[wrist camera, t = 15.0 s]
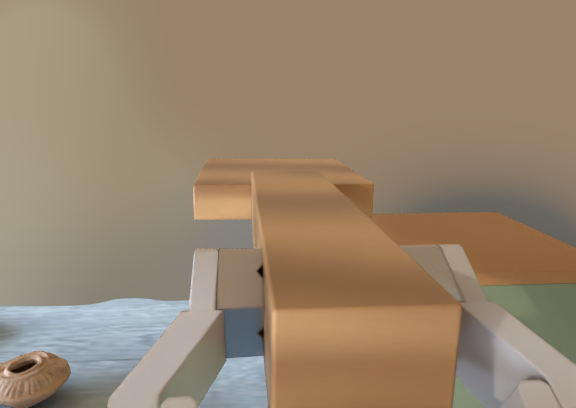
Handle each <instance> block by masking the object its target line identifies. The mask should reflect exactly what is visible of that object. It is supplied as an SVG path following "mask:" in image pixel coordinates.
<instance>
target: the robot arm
mask: <svg viewBox="0 0 576 408" xmlns="http://www.w3.org/2000/svg"><path fill="white" fill-rule="evenodd" d="M399 246H400V247H401V248H402V249H403V250H404V251H405V252H406V253H407V254H408V255H409V256H410V257H411V258H413V259H414V260H415V261H416V262H417V263H418V264H419V265H420V266H421V267H422V268H423V269H424V270H425V271H426V272H428V273H429V274H430V275H431V276H432V277H433V278H434V279H435V280H436V281H437V282H438V283H439V284H440V285H441V286H443V287H444V288H445V289H446V290H447V291H448V292H449V293H450V294H451V295H452V296H453V297H454V298H455V299H456V300H457V301H459V302H460V303H461V306H462V318H461V328H460V338H459V348H458V358H457V368H456V377H457V378H458V379H459V380H460V381H461V382H462V383H463V384H464V385H465V387H466V388H467V389H468V390H469V391H470V392H471V393H472V394H473V395H474V396H475V398H476V399H477V400H478V401H479V402H480V403H481V404H482V405H483V406H484V408H576V364H575V363H573V362H572V361H571V360H569V359H568V358H567V357H566V356H564V355H563V354H562V353H560V352H559V351H558V350H557V349H555V348H554V347H553V346H551V345H550V344H549V343H548V342H546V341H545V340H544V339H542V338H541V337H540V336H539V335H537V334H536V333H535V332H533V331H532V330H531V329H530V328H528V327H527V326H526V325H524V324H523V323H522V322H520V321H519V320H518V319H517V318H515V317H514V316H513V315H511V314H510V313H509V312H508V311H506V310H505V309H504V308H502V307H501V306H500V305H499V304H497V303H496V302H492V301H488V300H487V298H486V295H485V293H484V291H483V289H482V287H481V285H480V283H479V281H478V279H477V277H476V274H475V272H474V270H473V268H472V266H471V264H470V262H469V260H468V258H467V256H466V254H465V251H464V249H463V247H462V246H460V245H459V244H442V245H435V244H432V245H399ZM264 323H265V292H264V278H263V253H262V249H226V248H223V249H222V248H219V249H196V250H195V253H194V259H193V271H192V282H191V292H190V303H189V311H182V312H181V313H180V314H179V315H178V316H177V318H176V319H175V320H174V321H173V322H172V323H171V325H170V326H169V327H168V328H167V329H166V331H165V332H164V333H163V334H162V335H161V337H160V338H159V339H158V340H157V341H156V342H155V344H154V345H153V346H152V347H151V348H150V350H149V351H148V352H147V353H146V354H145V356H144V357H143V358H142V359H141V360H140V361H139V363H138V364H137V365H136V366H135V367H134V369H133V370H132V371H131V372H130V373H129V375H128V376H127V377H126V378H125V379H124V380H123V382H122V383H121V384H120V385H119V386H118V388H117V389H116V390H115V391H114V392H113V394H112V395H111V396H110V397H109V400H108V405H107V408H198V406H199V405H200V403H201V401H202V400H203V398H204V397H205V395H206V393H207V392H208V390H209V388H210V387H211V385H212V383H213V382H214V380H215V378H216V377H217V375H218V373H219V372H220V370H221V368H222V367H223V365H224V364H225V362H226V358H236V357H251V356H264V354H263V344H264V332H263V328H264Z"/></svg>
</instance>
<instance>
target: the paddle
mask: <svg viewBox="0 0 576 408" xmlns="http://www.w3.org/2000/svg"><path fill="white" fill-rule="evenodd" d="M373 190H374V184H373V183H371V182H370V181H368V180H367V179H365V178H364V177H362V176H361V175H359V174H358V173H356V172H354V171H353V170H351V169H350V168H348V167H347V166H345V165H344V164H342V163H341V162H339V161H337V160H336V159H207V161H206V163H205V164H204V166H203V168H202V170H201V172H200V174H199V176H198V178H197V179H196V182H195V183H194V185H193V194H194V219H195V220H213V219H214V220H220V219H251V220H252V231H253V242H254V249H262V253H263V278H264V292H265V323H264V328H263V332H264V344H263V354H264V365H265V376H266V387H267V398H268V408H453V398H454V388H455V378H456V368H457V358H458V348H459V338H460V328H461V318H462V306H461V303H460V302H459V301H457V300H456V299H455V298H454V297H453V296H452V295H451V294H450V293H449V292H448V291H447V290H446V289H445V288H444V287H443V286H441V285H440V284H439V283H438V282H437V281H436V280H435V279H434V278H433V277H432V276H431V275H430V274H429V273H428V272H426V271H425V270H424V269H423V268H422V267H421V266H420V265H419V264H418V263H417V262H416V261H415V260H414V259H413V258H411V257H410V256H409V255H408V254H407V253H406V252H405V251H404V250H403V249H402V248H401V247H400V246H399V245H398V244H397V243H395V242H394V241H393V240H392V239H391V238H390V237H389V236H388V235H387V234H386V233H385V232H384V231H383V230H382V229H380V228H379V227H378V226H377V225H376V224H375V223H374V222H373V221H372V220H371V219H370V218H372V210H373V192H374V191H373Z"/></svg>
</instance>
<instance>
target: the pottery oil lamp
mask: <svg viewBox="0 0 576 408" xmlns="http://www.w3.org/2000/svg"><path fill="white" fill-rule="evenodd" d="M70 374H71V371H70V367H69V364H68V362H67V361H66V360H64V359H62V358H59V357H58V356H56V355H54V354H51V353H46V352H44V351H34V352H30V353H28V354H25V355H21V356H19V357H17V358H15V359H13V360H10V361H8V362H4V363H0V404H2V405H6V406H10V407H13V408H27V407H31V406H33V405H35V404H37V403H39V402H41V401H43V400H45V399H47V398H48V397H50V396H51V395H53V394H54V393H55V392H56V391H57V390H58V389H59V388H61V386H62V385H63V384H64V383H65V382H66V381H67V379H68V378H69V376H70Z"/></svg>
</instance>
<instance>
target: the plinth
mask: <svg viewBox="0 0 576 408" xmlns="http://www.w3.org/2000/svg"><path fill="white" fill-rule="evenodd" d="M370 219H371V220H372V221H373V222H374V223H375V224H376V225H377V226H378V227H379V228H380V229H382V230H383V231H384V232H385V233H386V234H387V235H388V236H389V237H390V238H391V239H392V240H393V241H394V242H395V243H397V244H398V245H432V244H435V245H442V244H459V245H460V246H462V247H463V249H464V251H465V254H466V256H467V258H468V260H469V262H470V264H471V266H472V268H473V270H474V272H475V274H476V277H477V279H478V281H479V283H480V285H481V287H482V289H483V291H484V293H485V295H486V298H487V300H488V301H492V302H496V303H497V304H499V305H500V306H501V307H502V308H504V309H505V310H506V311H508V312H509V313H510V314H511V315H513V316H514V317H515V318H517V319H518V320H519V321H520V322H522V323H523V324H524V325H526V326H527V327H528V328H530V329H531V330H532V331H533V332H535V333H536V334H537V335H539V336H540V337H541V338H542V339H544V340H545V341H546V342H548V343H549V344H550V345H551V346H553V347H554V348H555V349H557V350H558V351H559V352H560V353H562V354H563V355H564V356H566V357H567V358H568V359H569V360H571V361H572V362H573V363H575V364H576V248H574V247H572V246H570V245H568V244H566V243H564V242H561V241H559V240H557V239H555V238H552V237H550V236H548V235H545V234H543V233H541V232H539V231H537V230H535V229H532V228H530V227H528V226H526V225H524V224H521V223H519V222H517V221H515V220H513V219H510V218H508V217H506V216H504V215H501V214H499V213H497V212H490V213H489V212H487V213H486V212H485V213H484V212H483V213H415V214H414V213H413V214H372V218H370ZM453 408H484V406H483V405H482V404H481V403H480V402H479V401H478V400H477V399H476V398H475V396H474V395H473V394H472V393H471V392H470V391H469V390H468V389H467V388H466V387H465V385H464V384H463V383H462V382H461V381H460V380H459V379H458V378H457V377H456V378H455V388H454V398H453Z"/></svg>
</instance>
